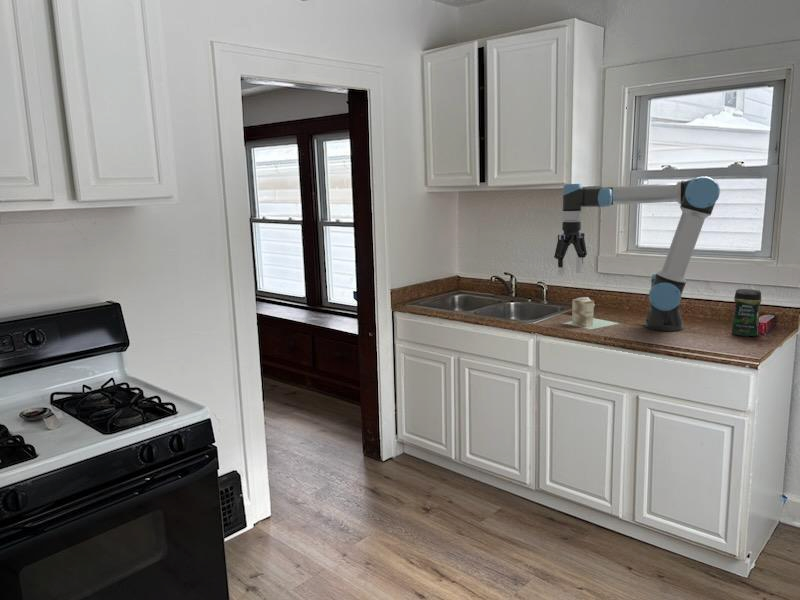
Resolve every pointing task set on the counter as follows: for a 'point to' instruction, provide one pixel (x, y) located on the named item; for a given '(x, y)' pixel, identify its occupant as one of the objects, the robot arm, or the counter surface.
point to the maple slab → (582, 312)
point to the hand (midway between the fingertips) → (570, 273)
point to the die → (585, 298)
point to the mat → (595, 324)
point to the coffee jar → (746, 312)
